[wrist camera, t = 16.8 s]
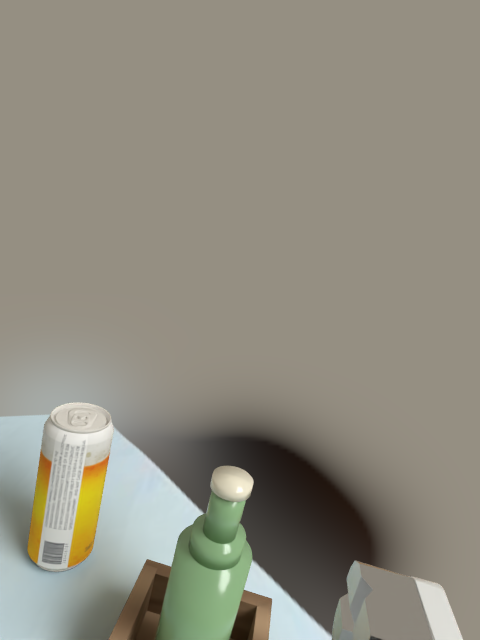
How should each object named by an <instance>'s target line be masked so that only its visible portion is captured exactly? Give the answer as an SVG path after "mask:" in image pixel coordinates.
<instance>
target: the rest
mask: <svg viewBox="0 0 480 640" xmlns="http://www.w3.org/2000/svg"><path fill="white" fill-rule="evenodd" d="M170 571H171V567H170V566H167V565H164V564H161V563H157V562H154V561H151V560H148V559H147V560H146V562H145V564H144V566H143V569H142V571H141V573H140V575H139V577H138V579H137V581H136V583H135V585H134V587H133V589H132V591H131V594H130V596H129V598H128V600H127V602H126V604H125V606H124V608H123V610H122V612H121V614H120V616H119V619H118V621H117V623H116V625H115V627H114V629H113V631H112V633H111V635H110V637H109V639H108V640H155V636H156V632H157V627H158V623H159V619H160V614H161V610H162V606H163V602H164V597H165V593H166V589H167V584H168V580H169V576H170ZM271 606H272V599H271V598H268V597H265V596H262V595H258V594H255V593H252V592H249V591H246V590H243V594H242V597H241V601H240V604H239V608H238V612H237V615H236V619H235V622H234V626H233V629H232V633H231V636H230V640H268V638H269V627H270V616H271Z"/></svg>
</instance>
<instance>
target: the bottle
mask: <svg viewBox="0 0 480 640" xmlns="http://www.w3.org/2000/svg"><path fill="white" fill-rule="evenodd" d="M252 486H253V479H252V477H251V476H250V475H249V474H248V473H247V472H245V471H244V470H242V469H240V468H237V467H234V466H221V467H218V468H217V469H215V470H214V472H213V476H212V480H211V488H212V492H211V496H210V500H209V504H208V509H207V512H206V514H203V515H201V516H199V517H198V518H197V519H196V520H195V521H194V524H193V525H190V526H189V527H187V528H186V529H184V530H183V531H182V533H181V534H180V536H179V538H178V541H177V546H176V550H175V554H174V559H173V563H172V567H171V571H170V576H169V580H168V584H167V589H166V593H165V597H164V602H163V606H162V610H161V614H160V619H159V623H158V627H157V632H156V636H155V640H230V636H231V633H232V629H233V626H234V622H235V619H236V615H237V612H238V608H239V604H240V601H241V597H242V594H243V590H244V587H245V583H246V580H247V576H248V573H249V569H250V566H251V562H252V551H251V548H250V546H249V544H248V542H247V541H246V533H245V530H244V528H243V527H242V525H241V524H240V520H241V516H242V512H243V509H244V505H245V501H246V499H248V498H249V497H250V494H251V490H252Z"/></svg>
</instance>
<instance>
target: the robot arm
mask: <svg viewBox="0 0 480 640" xmlns="http://www.w3.org/2000/svg"><path fill="white" fill-rule="evenodd" d="M347 585H348V594H346V595H345V596H343V597H342V598H340V600H339V604H338V606H337V610H336V613H335V618H334V624H333V630H332V640H463V639H462V636H461V633H460V630H459V628H458V626H457V623H456V620H455V617H454V615H453V613H452V610H451V607H450V605H449V602H448V599H447V597H446V594H445V591H444V589H443V588H442V587H441V586H440V585H439V584H438V583H434V582H430V581H427V580H423V579H419V578H416V577H411V576H410V577H408V576H405V575H401V574H398V573H395V572H391V571H388V570H385V569H381V568H378V567H374V566H371V565H368V564H365V563H361V562H358V561H354V563H353V565H352V567H351V569H350V571H349V574H348V577H347Z"/></svg>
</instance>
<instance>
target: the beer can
mask: <svg viewBox="0 0 480 640" xmlns="http://www.w3.org/2000/svg"><path fill="white" fill-rule="evenodd" d="M113 432H114V427H113V424H112V422H111V416H110V414H109V412H108V411H106V410H105V409H103V408H101V407H99V406H96V405H93V404H88V403H68V404H64V405H61V406H58V407H56V408H55V409H54V410H53V411H52V412H51V415H50V417H49V418H48V419H47V421H46V422H45V424H44V430H43V438H42V445H41V452H40V460H39V467H38V474H37V481H36V489H35V496H34V503H33V511H32V518H31V525H30V533H29V540H28V548H27V550H28V554H29V556H30V558H31V559H32V560H33V561H34V562H35V563H36V564H37V565H38V566H39V567H40V568H42V569H44V570H47V571H52V572H60V571H66V570H69V569H72V568H74V567H76V566H77V565H78V564H80V563H81V562H82V561H84V560H85V559H86V558H87V557H88V556H89V554H90V553H91V551H92V549H93V544H94V538H95V533H96V527H97V521H98V516H99V510H100V505H101V499H102V493H103V488H104V482H105V477H106V471H107V465H108V460H109V454H110V448H111V443H112V437H113Z"/></svg>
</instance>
